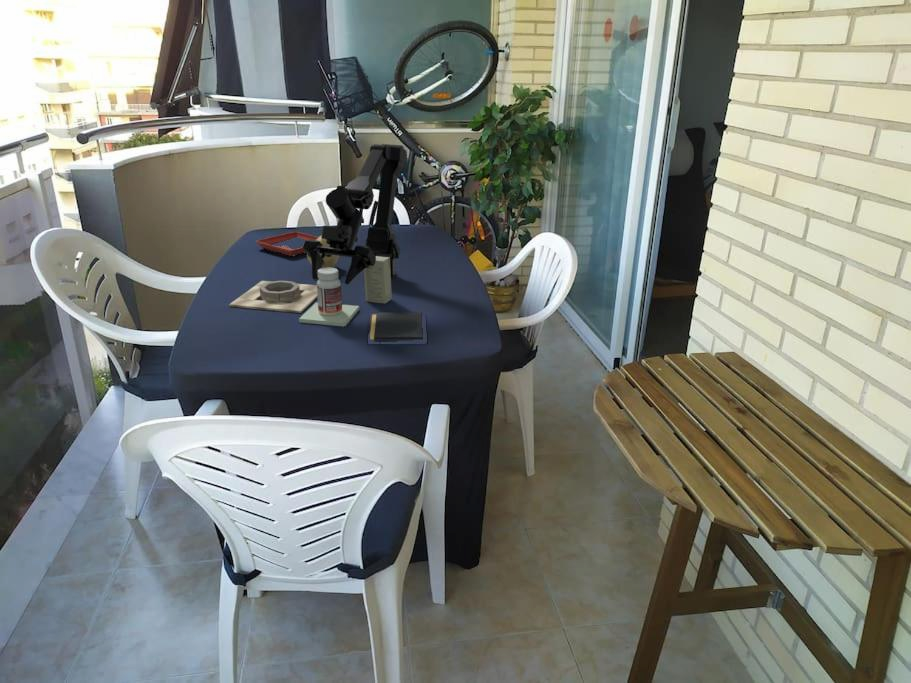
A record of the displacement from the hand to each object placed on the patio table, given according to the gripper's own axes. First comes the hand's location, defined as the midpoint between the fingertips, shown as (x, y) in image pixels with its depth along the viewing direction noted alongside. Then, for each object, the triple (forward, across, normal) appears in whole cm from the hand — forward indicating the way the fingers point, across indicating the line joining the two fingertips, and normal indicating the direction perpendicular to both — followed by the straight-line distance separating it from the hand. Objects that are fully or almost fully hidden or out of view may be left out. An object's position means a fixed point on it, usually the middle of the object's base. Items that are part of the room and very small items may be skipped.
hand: (329, 281), depth 165 cm
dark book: (+9, +20, +6) cm, 22 cm away
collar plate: (+2, -19, +11) cm, 22 cm away
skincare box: (-3, +7, +17) cm, 18 cm away
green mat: (+7, 0, +6) cm, 9 cm away
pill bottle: (+6, 0, +5) cm, 8 cm away
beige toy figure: (-16, -20, +30) cm, 39 cm away
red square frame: (-28, -40, +42) cm, 65 cm away
